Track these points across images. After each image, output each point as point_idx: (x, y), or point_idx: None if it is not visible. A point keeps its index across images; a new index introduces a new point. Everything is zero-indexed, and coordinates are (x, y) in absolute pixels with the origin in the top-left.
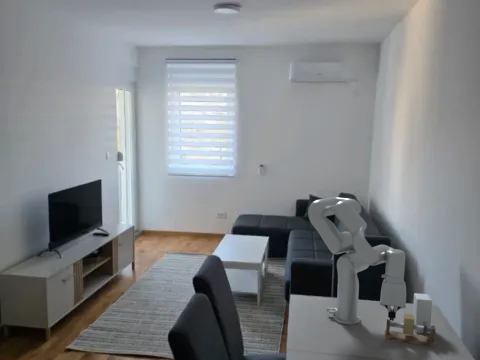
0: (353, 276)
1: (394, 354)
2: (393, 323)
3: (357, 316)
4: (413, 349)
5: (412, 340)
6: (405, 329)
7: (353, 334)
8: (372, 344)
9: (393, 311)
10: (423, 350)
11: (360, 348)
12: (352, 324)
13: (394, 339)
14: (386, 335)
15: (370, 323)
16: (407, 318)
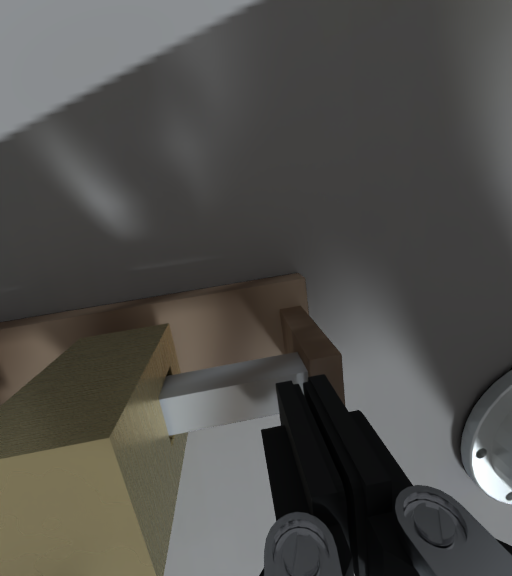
0: None
1: (205, 49)
2: (269, 377)
3: (487, 470)
4: (83, 216)
5: (99, 312)
6: (137, 345)
7: (503, 245)
8: (378, 150)
9: (330, 527)
10: (9, 236)
11: (463, 33)
12: (508, 372)
13: (235, 286)
14: (298, 296)
15: (398, 442)
16: (52, 457)
